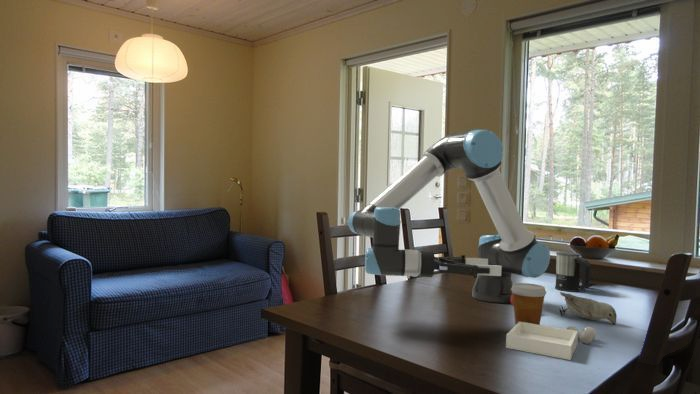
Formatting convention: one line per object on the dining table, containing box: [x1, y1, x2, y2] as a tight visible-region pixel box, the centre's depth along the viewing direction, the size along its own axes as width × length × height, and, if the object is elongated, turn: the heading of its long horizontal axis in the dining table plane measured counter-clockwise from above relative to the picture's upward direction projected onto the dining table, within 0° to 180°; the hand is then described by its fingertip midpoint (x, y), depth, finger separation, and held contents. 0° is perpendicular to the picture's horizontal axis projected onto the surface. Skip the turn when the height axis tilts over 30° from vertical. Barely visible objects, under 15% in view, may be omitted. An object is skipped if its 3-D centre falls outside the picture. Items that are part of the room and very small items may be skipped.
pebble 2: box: [578, 330, 594, 344], centre depth 125 cm, size 3×3×3 cm
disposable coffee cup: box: [511, 282, 547, 326], centre depth 137 cm, size 10×10×12 cm
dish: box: [505, 322, 579, 361], centre depth 121 cm, size 15×15×3 cm
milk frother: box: [554, 251, 598, 292], centre depth 196 cm, size 14×16×15 cm
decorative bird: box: [558, 291, 618, 326], centre depth 149 cm, size 5×16×8 cm, turn 52°
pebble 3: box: [582, 326, 597, 341], centre depth 128 cm, size 3×3×3 cm
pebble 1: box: [566, 326, 580, 336], centre depth 128 cm, size 3×3×3 cm
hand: (494, 266), depth 137 cm, fingers open, 13 cm apart
